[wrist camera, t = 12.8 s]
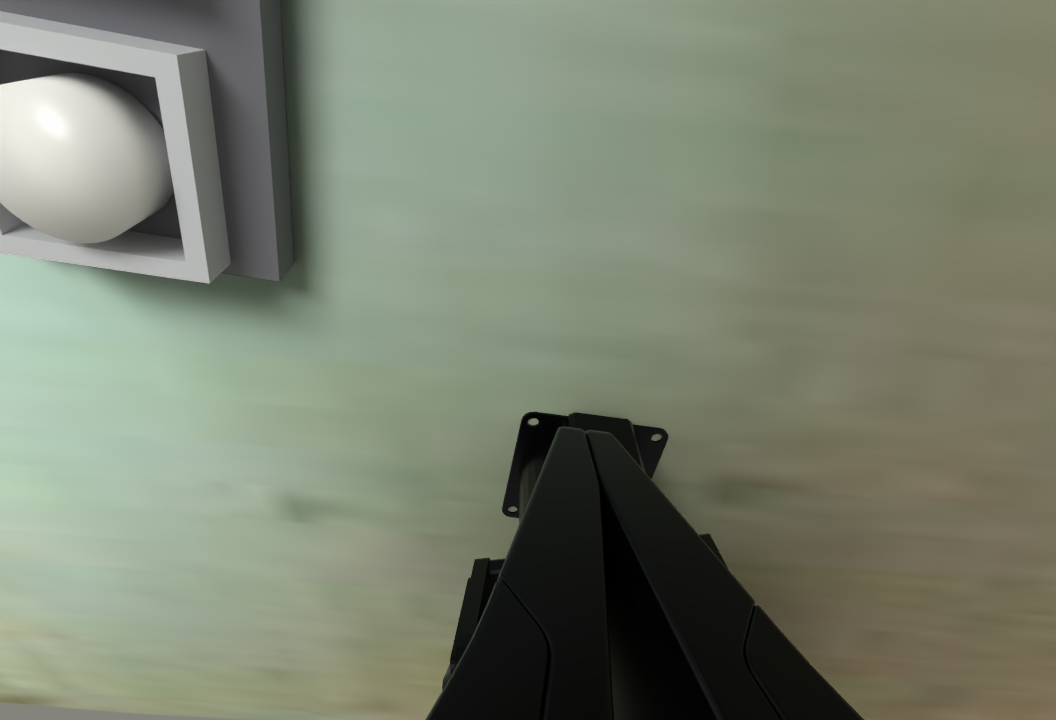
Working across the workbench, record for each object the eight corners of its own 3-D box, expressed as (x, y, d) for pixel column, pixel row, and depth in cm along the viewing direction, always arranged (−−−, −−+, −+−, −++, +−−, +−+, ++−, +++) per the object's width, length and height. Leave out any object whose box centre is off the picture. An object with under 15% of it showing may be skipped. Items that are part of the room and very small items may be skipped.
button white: (186, 228, 17) (151, 253, 16) (46, 206, 17) (-5, 230, 15) (163, 87, 15) (120, 100, 14) (3, 59, 15) (-63, 67, 13)
